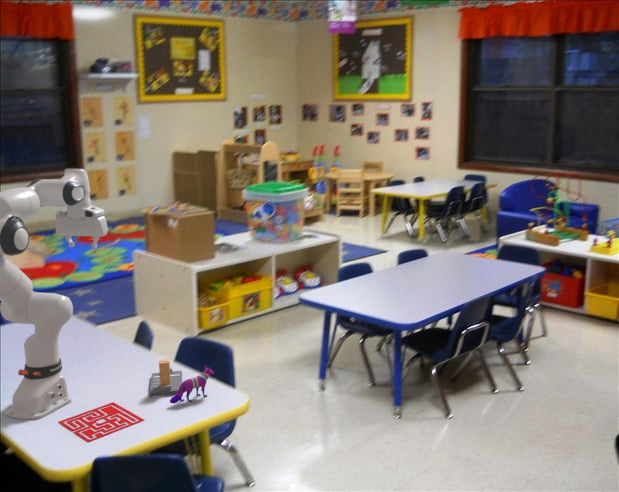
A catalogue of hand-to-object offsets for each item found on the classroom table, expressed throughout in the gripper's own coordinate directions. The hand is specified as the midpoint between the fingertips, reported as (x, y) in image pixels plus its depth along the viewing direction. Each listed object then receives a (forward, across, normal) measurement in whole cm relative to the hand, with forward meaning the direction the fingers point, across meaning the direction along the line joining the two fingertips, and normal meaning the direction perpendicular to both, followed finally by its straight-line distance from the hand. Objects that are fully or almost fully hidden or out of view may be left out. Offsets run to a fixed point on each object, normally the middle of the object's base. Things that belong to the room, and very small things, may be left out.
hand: (83, 247), depth 273 cm
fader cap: (+46, +38, -14) cm, 61 cm away
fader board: (+48, +36, -11) cm, 61 cm away
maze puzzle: (+48, +28, -42) cm, 70 cm away
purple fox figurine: (+48, +50, -20) cm, 72 cm away
